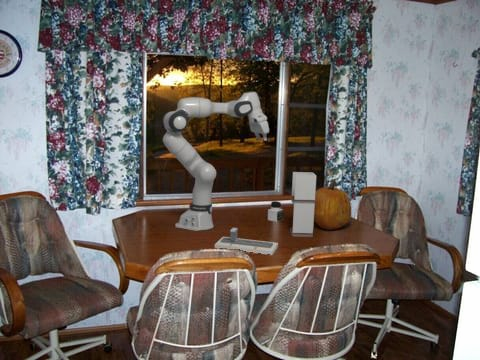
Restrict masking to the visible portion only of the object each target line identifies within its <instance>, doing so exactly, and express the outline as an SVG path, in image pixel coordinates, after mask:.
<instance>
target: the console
mask: <svg viewBox="0 0 480 360" xmlns="http://www.w3.org/2000/svg"><path fill="white" fill-rule="evenodd" d="M237 239H238V242H236V241H229V240H230V236H222V237H221V238H220V239H219V240H218V241H217V242H215V244H214V249H219V250H220V248H227V249H240V250H243V251H246V252H245V253H250V252H253V253H252V254H258V253H261V254H260V255H267V254H270V255H269V256H273V255H274V253H275V251H277V249H278V247H279V246H278V245H279V242H275V241H263V240H256V239H255V240H254V239H246V238H240V237H239V238H238V237H237Z"/></svg>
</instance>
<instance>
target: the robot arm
mask: <svg viewBox="0 0 480 360" xmlns="http://www.w3.org/2000/svg"><path fill="white" fill-rule="evenodd" d="M176 107H177V108H176V110H174V111H172V110H170V111H168V112H166V113H165V114H164V115H163V116H162V124H163V125H162V126H163V129H164V132H165V134H164V135H163V137H162V143H163V145H164V146H165V147H166V149H167V150H168V151H169V152H170V153H171V155H172V156H174V158H175V159H177V161H178V162H179V163H180V164H181V165H182V166H183V168H185V169H186V171H188V174H190V175H191V176H192V177H193V178H195V181H194V187H193V189H192V202H190V203H189V204H188V206H187V207H188V209H187V210H186V211H184V212H183V213H182V214H181V215H180V217H179V220H178V222H175V224H174V225H175V226H174V227H175V228H178V229H183V230H184V229H185V230H189V231H194V232H195V231H203V230H204V231H206V230H210V229H213V228H214V223H213V222H214V221H213V217H212V216H213V215H212V213H213V203H212V192H213V191H212V190H213V185H214V182H215V181H214V180H215V179H216V177H217V170H216V169H215V167H214V166H213V165H212V164H211V163H209V162H207V161H206V160H204V158H202V157H201V156H200V154H199V153H198V151H197V150H196V149H195V148H194V147H193V145H192V144H190V143H189V142H188V141H187V140H186V138H184V137H183V135H182V132H184V131H185V130H186V129H187V128H188V125H189V121H190V118H206V117H210V115H212V114H225V115H227V116H228V117H231V118H243V117H246V116H247V117H248V124H249V129H250V131H251V132H252V133H254V135H255V137H256V140H261V135H262V137H263V138H262V139H263V141H267V140H268V138H267V134H269V133H270V128H269V122H268V121H267V120H268V117H267V116H266V115H265V114H264V113H263V109H262V108H261V107H262V106H261V101H260V98H259V95H258V93H257V92H256V91H253V90H252V91H244V92H243V94H242V95H241V97H240V98H238V99H237V100H235V99H232V100H228V101H226V102H214V101H211V100H210V99H209V98H205V97H199V96H198V97H195V96H194V97H193V96H192V97H184V98H180V99H179V100H178V102H177V106H176Z"/></svg>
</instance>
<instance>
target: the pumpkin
mask: <svg viewBox="0 0 480 360" xmlns="http://www.w3.org/2000/svg"><path fill="white" fill-rule="evenodd" d="M335 184H336V178H334V179H332V180H331V182H330V183H329V186H328V187H321V188H320V187H319V189H317V190H315V206H314V223H315V224H316V225H317V226H318V227H319V228H321V229H323V230H327V231H331V230H338V229H340V228H342V227H344V226H346V225H347V224H348V223H349V222H350V221H351V218H352V203H351V200H350V197H349V195H348V194H347V193H346V191H344V190H342V189H340V188H337V187H335Z"/></svg>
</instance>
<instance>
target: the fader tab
mask: <svg viewBox="0 0 480 360" xmlns="http://www.w3.org/2000/svg"><path fill="white" fill-rule="evenodd" d="M238 229H239V228H238V227H232V228H231V229H230V233H229V234H230V236H229V237H230V240H229V241H236V242H238V239H237V238H238Z"/></svg>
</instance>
